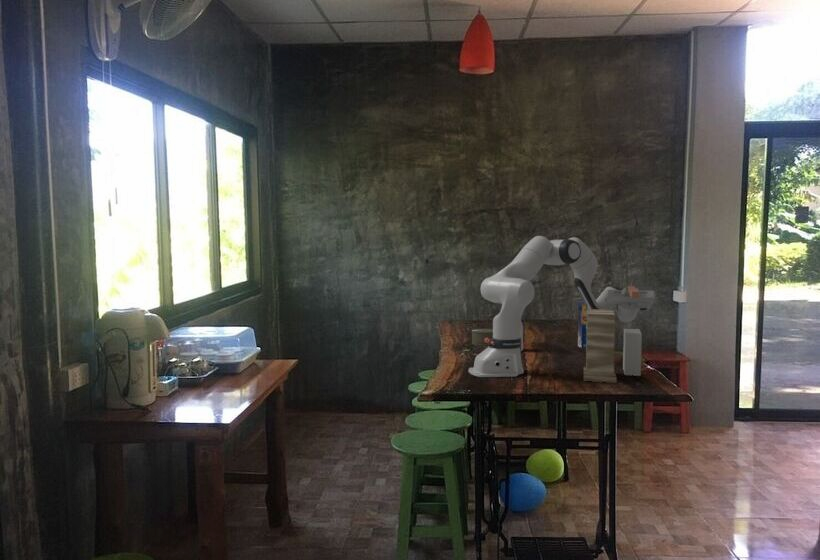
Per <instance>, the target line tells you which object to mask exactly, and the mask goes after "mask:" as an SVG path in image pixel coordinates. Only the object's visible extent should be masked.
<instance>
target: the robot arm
mask: <svg viewBox="0 0 820 560" xmlns="http://www.w3.org/2000/svg"><path fill="white" fill-rule="evenodd" d="M564 265H569V266H570V267H571V269H572V271H573V276H574V279H573V280H574V281H573V283H574V286H575V288H576V290H577V292H578V294H579V296H580V299H581V300H582V302H584V304H585V306H586V308H587V309H604V310H613V311H614V313H617V318H618V319H619V320H620V321H621V322H622V323H630V322H632V321H634V320H635V319H636V317H637V315H638V312H641V311H647V310H650V309H651V306H653V305H654V303H655V301H656V291H654V290H640V289H639V287H635V288H636V289H637V290H638V291H639V298H632V297H631V296H630V294H629V293H628V287H624V288H623V289H622V288H621V287H619V286H613V285H609V286H606V288H605V289H603V291H602V292H601V293H600V295H599V296H598V297H597V298H595V296H594V294H593V292H592V290H591V289H592V288H591V286H592V283H593V280H594V278H595V275H596V274H597V270H598V266H599V262H598V260H597V257H596V255H595V254H594V253H593V251H592V250H591V249H590V248H589V247H588V246H587V244H586V243H584V242H583V240H581V239H580V238H578V237H570V238H566V239H551V240H549V239H548V238H547V237H545V236H543V235H536V236H534V237H532V238H531V239H530V240H529V241H528V242H527V243H526V244H525V245H524V246H523V247H522V248H521V250H520V251H519V252H518V254H517V255H516V256H515V257H514V258H513V259H512V260H511V262H510V263H508V264H507V265H506V266H505V267H504V268H502V269H501V270H499V271H498V272H496V273H495V274H493V275H492V276H489V277H486V278H484V280H482V282H481V284H480V294H481V297H482V298H483V299H484V300H487V301H489V302H491V303H493V304H495V303H496V304H500V305H501V308H500V311H499V313H498V314H496V315H495V316H494V317H493V319H492V329H493V337H492V338H491V339H488V338H485V340H484V341H485V342H486V343H488V345H487V348H485V349H483V351H481V352H480V353H478V354H477V355H476V356H475V359H474V364H473V367H469V368H468V373H469V374H470V375H473V376H475V377H479V378H501V377H502V378H505V377H506V378H508V377H509V378H510V377H511V378H512V377H514V378H515V377H518V376H519V375H522V374H524V373H525V371H524V368H523V363H522V356H521V352H522V351H521V338H520V324H521V322H522V316H523V313H524V311H525V310H526V307H528V305H529V304H531V303H532V301H533V300H534V297H535V294H536V293H535V287H534V286H535V285H533V284H532V282H531V281H532V280H533V279H534V278H535V276H536V275H537V274H538V273H539V271H540V270H541V269H542V267H543V266H564Z"/></svg>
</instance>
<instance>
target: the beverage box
mask: <svg viewBox="0 0 820 560" xmlns="http://www.w3.org/2000/svg"><path fill="white" fill-rule="evenodd" d="M577 311H578V313H577V314H578V315H577V316H578V319H577V321H578V324H577V327H578V329H577V347H578V348H580V347H581V348H580V349H586V344H587V308H586V306H585V304H584V302H583V301H582V302H580V301H579V302H578V310H577Z"/></svg>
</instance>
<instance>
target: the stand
mask: <svg viewBox="0 0 820 560" xmlns="http://www.w3.org/2000/svg"><path fill="white" fill-rule="evenodd" d="M615 320H616V314H615V312H614V311H613V310H604V309H587V344H586V348H585V349H586V350H585V352H586V353H585V354H586V355H585V357H586V358H585V360H586V361H585V366H583V369H582V370H583V371H582V372H583V374H584V375H583V382H585V381H592V382H591V383H602V382H606V383H607V384H617V374H616V370H615V333H616V332H615V331H616V330H615V329H616V328H615V326H616V321H615ZM606 383H605V384H606Z"/></svg>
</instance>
